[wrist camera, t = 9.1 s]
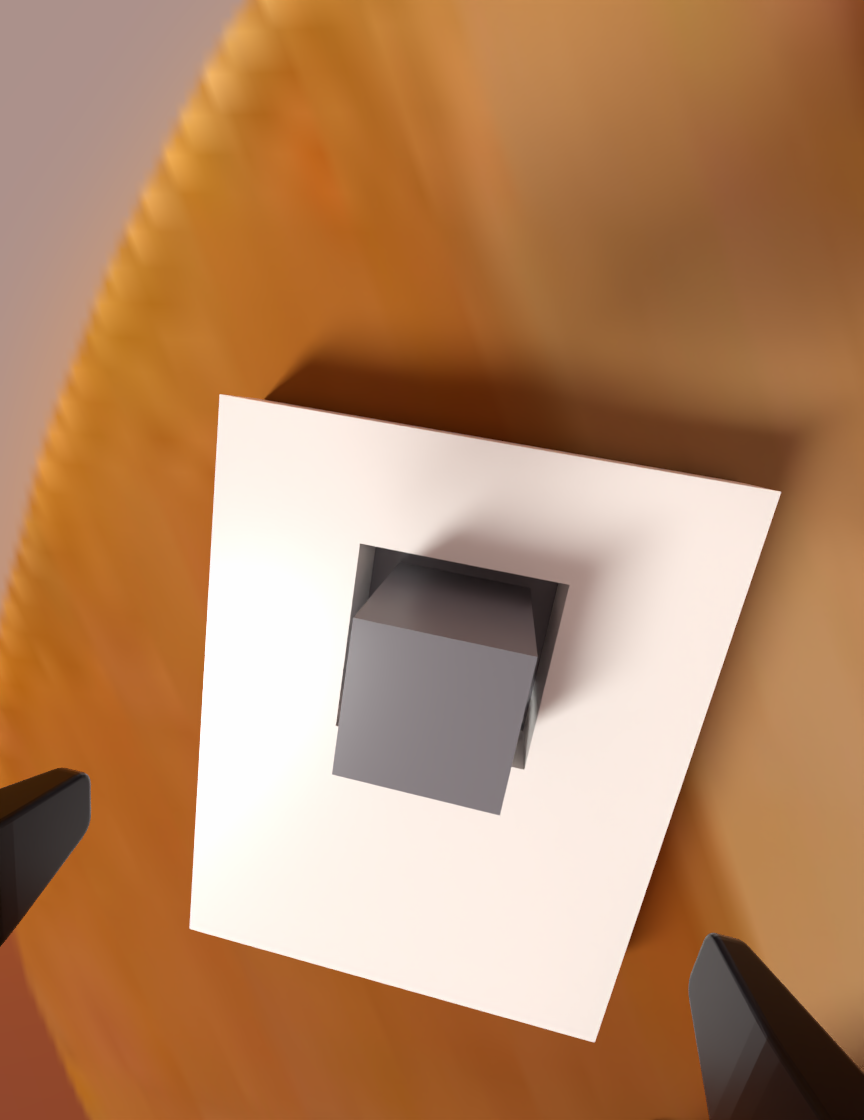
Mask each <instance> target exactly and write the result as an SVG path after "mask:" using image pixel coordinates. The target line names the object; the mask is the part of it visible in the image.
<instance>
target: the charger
mask: <svg viewBox="0 0 864 1120" xmlns="http://www.w3.org/2000/svg"><path fill="white" fill-rule="evenodd" d="M537 658H538V655H537V647H536V638H535V629H534V621H533V612H532V603H531V595H530V588H528V587H523V586H518V585H513V584H508V583H503V582H498V581H493V580H488V579H483V578H478V577H473V576H468V575H464V574H459V573H454V572H449V571H444V570H439V569H434V568H429V567H424V566H419V565H414V564H409V563H404V562H399V563H398V565H397V566H396V567H395V568H394V569H393V571H392V572H391V573H390V574H389V575H388V577H387V578H386V579H385V580H384V581H383V583H382V584H381V585H380V586H379V587H378V589H377V590H376V591H375V592H374V593H373V594H372V596H371V597H370V598H369V599H368V600H367V602H366V603H365V604H364V605H363V606H362V608H361V609H360V610H359V611H358V612H357V614H356V615H355V616H354V617H353V623H352V630H351V637H350V645H349V652H348V659H347V667H346V674H345V682H344V689H343V696H342V704H341V711H340V718H339V726H338V733H337V741H336V748H335V755H334V763H333V770H332V775H336V776H340V777H344V778H348V779H353V780H357V781H361V782H365V783H369V784H373V785H377V786H381V787H385V788H389V789H393V790H397V791H402V792H406V793H410V794H414V795H418V796H422V797H426V798H430V799H434V800H438V801H442V802H447V803H451V804H455V805H459V806H463V807H467V808H471V809H475V810H479V811H483V812H487V813H491V814H496V815H500V813H501V809H502V804H503V800H504V796H505V792H506V788H507V783H508V779H509V775H510V771H511V767H512V763H513V758H514V754H515V750H516V746H517V742H518V737H519V733H520V729H521V725H522V721H523V716H524V712H525V708H526V704H527V700H528V696H529V691H530V687H531V683H532V679H533V675H534V670H535V666H536V662H537Z"/></svg>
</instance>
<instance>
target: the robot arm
mask: <svg viewBox="0 0 864 1120" xmlns="http://www.w3.org/2000/svg"><path fill="white" fill-rule="evenodd" d="M90 818H91V785H90V778H89V776H88V775H87V774H86V773H84V772H80V771H76V770H72V769H68V768H57V769H54V770H51V771H48V772H46V773H43V774H40V775H37V776H34V777H32V778H29V779H26V780H23V781H20V782H18V783H15V784H12V785H9V786H7V787H4V788H1V789H0V946H1V945H2V944H3V943H4V942H5V940H6V939H7V938H8V936H9V935H10V934H11V933H12V931H13V930H14V929H15V928H16V926H17V925H18V924H19V922H20V921H21V920H22V918H23V917H24V916H25V914H26V913H27V912H28V910H29V909H30V908H31V906H32V905H33V904H34V902H35V901H36V899H37V898H38V897H39V895H40V894H41V893H42V891H43V890H44V889H45V887H46V886H47V885H48V883H49V882H50V881H51V879H52V878H53V877H54V875H55V874H56V873H57V871H58V870H59V869H60V867H61V866H62V864H63V863H64V862H65V860H66V859H67V858H68V856H69V855H70V854H71V852H72V851H73V850H74V848H75V847H76V846H77V844H78V843H79V842H80V840H81V839H82V837H83V836H84V834H85V833H86V831H87V829H88V826H89V823H90ZM689 1000H690V1006H691V1012H692V1018H693V1024H694V1030H695V1036H696V1042H697V1047H698V1053H699V1059H700V1065H701V1071H702V1077H703V1083H704V1089H705V1095H706V1101H707V1107H708V1113H709V1119H710V1120H864V1073H863V1072H862V1071H861V1070H860V1069H859V1067H858V1066H857V1065H856V1064H855V1063H854V1062H853V1061H852V1060H851V1059H850V1058H849V1056H848V1055H847V1054H846V1053H845V1052H844V1051H843V1050H842V1049H841V1048H840V1047H839V1045H838V1044H837V1043H836V1042H835V1041H834V1040H833V1039H832V1038H831V1037H830V1036H829V1034H828V1033H827V1032H826V1031H825V1030H824V1029H823V1028H822V1027H821V1026H820V1025H819V1023H818V1022H817V1021H816V1020H815V1019H814V1018H813V1017H812V1016H811V1015H810V1013H809V1012H808V1011H807V1010H806V1009H805V1008H804V1007H803V1006H802V1005H801V1004H800V1002H799V1001H798V1000H797V999H796V998H795V997H794V996H793V995H792V994H791V993H790V991H789V990H788V989H787V988H786V987H785V986H784V985H783V984H782V983H781V982H780V980H779V979H778V978H777V977H776V976H775V975H774V974H773V973H772V972H771V971H770V969H769V968H768V967H767V966H766V965H765V964H764V963H763V962H762V961H761V959H760V958H759V957H758V956H757V955H756V954H755V953H754V952H753V951H752V950H751V948H750V947H749V946H748V945H747V944H745V943H744V942H743V941H741V940H739V939H736V938H732V937H729V936H725V935H721V934H717V933H710V934H708V935H707V936H706V938H705V940H704V942H703V944H702V947H701V949H700V952H699V955H698V957H697V960H696V962H695V965H694V967H693V970H692V972H691V975H690V980H689Z"/></svg>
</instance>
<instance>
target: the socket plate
mask: <svg viewBox="0 0 864 1120" xmlns="http://www.w3.org/2000/svg"><path fill="white" fill-rule="evenodd" d="M780 494H781V492H780V491H776V490H771V489H767V488H763V487H759V486H754V485H750V484H746V483H741V482H737V481H731V480H726V479H720V478H714V477H708V476H702V475H697V474H691V473H685V472H679V471H674V470H668V469H662V468H656V467H651V466H645V465H639V464H633V463H627V462H622V461H616V460H610V459H604V458H599V457H593V456H587V455H581V454H576V453H570V452H564V451H558V450H552V449H547V448H541V447H535V446H529V445H524V444H518V443H512V442H506V441H501V440H495V439H489V438H483V437H477V436H472V435H466V434H460V433H454V432H449V431H443V430H437V429H431V428H426V427H420V426H414V425H408V424H402V423H397V422H391V421H385V420H379V419H374V418H368V417H362V416H356V415H351V414H345V413H339V412H333V411H327V410H322V409H316V408H310V407H304V406H299V405H293V404H287V403H281V402H276V401H270V400H264V399H256V398H247V397H239V396H230V395H222V394H220V400H219V417H218V435H217V453H216V470H215V488H214V506H213V524H212V541H211V559H210V577H209V594H208V612H207V630H206V648H205V665H204V683H203V701H202V718H201V736H200V754H199V771H198V789H197V807H196V825H195V842H194V860H193V878H192V895H191V913H190V929H192V930H196V931H199V932H203V933H206V934H210V935H213V936H217V937H220V938H224V939H228V940H231V941H235V942H238V943H242V944H245V945H249V946H253V947H256V948H260V949H263V950H267V951H270V952H274V953H277V954H281V955H285V956H288V957H292V958H295V959H299V960H302V961H306V962H309V963H313V964H317V965H320V966H324V967H327V968H331V969H334V970H338V971H341V972H345V973H349V974H352V975H356V976H359V977H363V978H366V979H370V980H374V981H377V982H381V983H384V984H388V985H391V986H395V987H398V988H402V989H406V990H409V991H413V992H416V993H420V994H423V995H427V996H430V997H434V998H438V999H441V1000H445V1001H448V1002H452V1003H455V1004H459V1005H463V1006H466V1007H470V1008H473V1009H477V1010H480V1011H484V1012H487V1013H491V1014H495V1015H498V1016H502V1017H505V1018H509V1019H512V1020H516V1021H519V1022H523V1023H527V1024H530V1025H534V1026H537V1027H541V1028H544V1029H548V1030H552V1031H555V1032H559V1033H562V1034H566V1035H569V1036H573V1037H576V1038H580V1039H584V1040H587V1041H591V1042H594V1043H595V1040H596V1037H597V1034H598V1031H599V1028H600V1025H601V1022H602V1019H603V1016H604V1013H605V1010H606V1007H607V1004H608V1002H609V999H610V996H611V993H612V990H613V987H614V984H615V981H616V978H617V975H618V972H619V969H620V966H621V963H622V960H623V957H624V954H625V951H626V948H627V946H628V943H629V940H630V937H631V934H632V931H633V928H634V925H635V922H636V919H637V916H638V913H639V910H640V907H641V904H642V901H643V898H644V895H645V892H646V889H647V887H648V884H649V881H650V878H651V875H652V872H653V869H654V866H655V863H656V860H657V857H658V854H659V851H660V848H661V845H662V842H663V839H664V836H665V833H666V830H667V828H668V825H669V822H670V819H671V816H672V813H673V810H674V807H675V804H676V801H677V798H678V795H679V792H680V789H681V786H682V783H683V780H684V777H685V774H686V771H687V769H688V766H689V763H690V760H691V757H692V754H693V751H694V748H695V745H696V742H697V739H698V736H699V733H700V730H701V727H702V724H703V721H704V718H705V715H706V712H707V710H708V707H709V704H710V701H711V698H712V695H713V692H714V689H715V686H716V683H717V680H718V677H719V674H720V671H721V668H722V665H723V662H724V659H725V656H726V653H727V651H728V648H729V645H730V642H731V639H732V636H733V633H734V630H735V627H736V624H737V621H738V618H739V615H740V612H741V609H742V606H743V603H744V600H745V597H746V594H747V592H748V589H749V586H750V583H751V580H752V577H753V574H754V571H755V568H756V565H757V562H758V559H759V556H760V553H761V550H762V547H763V544H764V541H765V538H766V535H767V533H768V530H769V527H770V524H771V521H772V518H773V515H774V512H775V509H776V506H777V503H778V500H779V497H780ZM399 562H404V563H409V564H414V565H419V566H424V567H429V568H434V569H439V570H444V571H449V572H454V573H459V574H464V575H468V576H473V577H478V578H483V579H488V580H493V581H498V582H503V583H508V584H513V585H518V586H523V587H528V588H530V595H531V603H532V612H533V621H534V629H535V638H536V647H537V655H538V658H537V662H536V666H535V670H534V675H533V679H532V683H531V687H530V691H529V696H528V700H527V704H526V708H525V712H524V716H523V721H522V725H521V729H520V733H519V737H518V742H517V746H516V750H515V754H514V758H513V763H512V767H511V771H510V775H509V779H508V783H507V788H506V792H505V796H504V800H503V804H502V809H501V813H500V815H496V814H491V813H487V812H483V811H479V810H475V809H471V808H467V807H463V806H459V805H455V804H451V803H447V802H442V801H438V800H434V799H430V798H426V797H422V796H418V795H414V794H410V793H406V792H402V791H397V790H393V789H389V788H385V787H381V786H377V785H373V784H369V783H365V782H361V781H357V780H353V779H348V778H344V777H340V776H336V775H332V770H333V763H334V755H335V748H336V741H337V733H338V726H339V718H340V711H341V704H342V696H343V689H344V682H345V674H346V667H347V659H348V652H349V645H350V637H351V630H352V623H353V617H354V616H355V615H356V614H357V612H358V611H359V610H360V609H361V608H362V606H363V605H364V604H365V603H366V602H367V600H368V599H369V598H370V597H371V596H372V594H373V593H374V592H375V591H376V590H377V589H378V587H379V586H380V585H381V584H382V583H383V581H384V580H385V579H386V578H387V577H388V575H389V574H390V573H391V572H392V571H393V569H394V568H395V567H396V566H397V565H398V563H399Z"/></svg>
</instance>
